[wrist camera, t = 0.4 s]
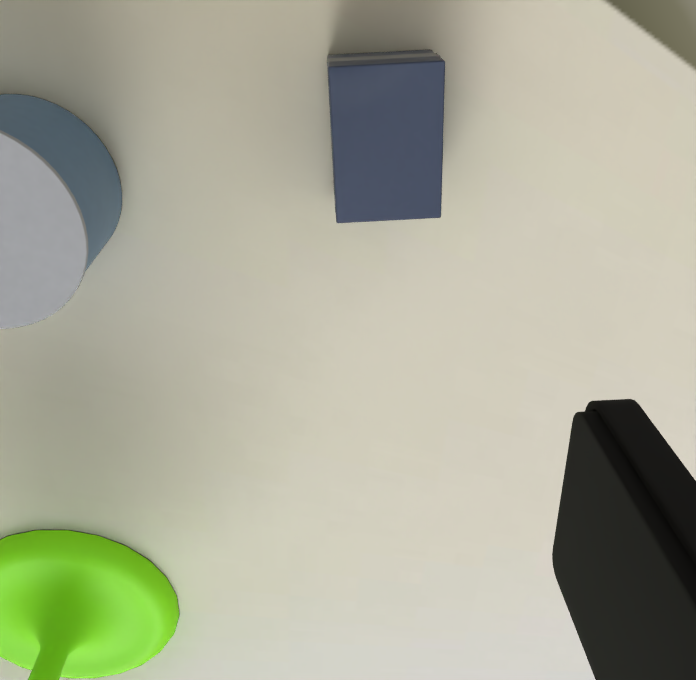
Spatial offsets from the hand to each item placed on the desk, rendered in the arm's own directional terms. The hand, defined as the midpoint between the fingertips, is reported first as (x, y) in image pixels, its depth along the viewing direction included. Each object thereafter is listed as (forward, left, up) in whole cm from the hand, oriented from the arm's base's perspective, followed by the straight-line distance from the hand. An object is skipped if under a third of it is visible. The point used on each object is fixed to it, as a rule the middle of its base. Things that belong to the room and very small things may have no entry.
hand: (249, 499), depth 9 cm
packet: (+1, +4, -27) cm, 27 cm away
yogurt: (+3, -14, -27) cm, 31 cm away
